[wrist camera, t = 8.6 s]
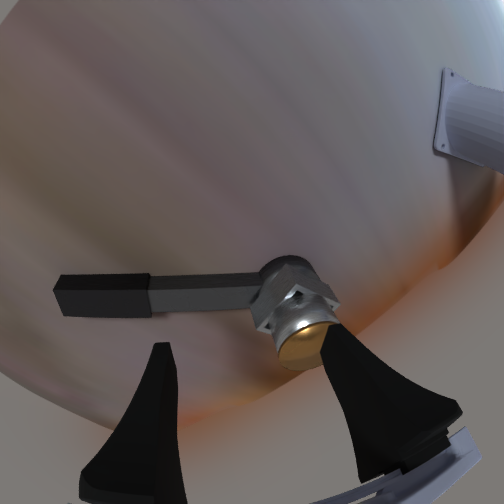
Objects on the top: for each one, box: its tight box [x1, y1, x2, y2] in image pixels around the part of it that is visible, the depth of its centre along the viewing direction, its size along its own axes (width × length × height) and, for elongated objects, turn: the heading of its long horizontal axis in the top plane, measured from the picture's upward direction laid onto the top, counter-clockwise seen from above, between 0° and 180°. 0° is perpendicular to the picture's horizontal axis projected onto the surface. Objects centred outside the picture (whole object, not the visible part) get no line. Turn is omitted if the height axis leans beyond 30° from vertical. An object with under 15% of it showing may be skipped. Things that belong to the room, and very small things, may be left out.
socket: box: [250, 264, 341, 371], centre depth 19 cm, size 5×5×6 cm
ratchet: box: [53, 255, 321, 318], centre depth 20 cm, size 22×5×4 cm, turn 86°
